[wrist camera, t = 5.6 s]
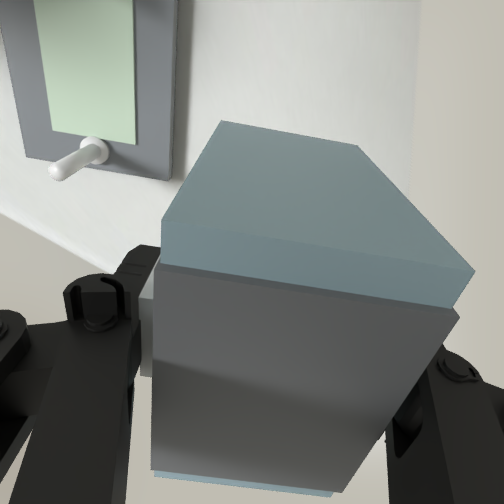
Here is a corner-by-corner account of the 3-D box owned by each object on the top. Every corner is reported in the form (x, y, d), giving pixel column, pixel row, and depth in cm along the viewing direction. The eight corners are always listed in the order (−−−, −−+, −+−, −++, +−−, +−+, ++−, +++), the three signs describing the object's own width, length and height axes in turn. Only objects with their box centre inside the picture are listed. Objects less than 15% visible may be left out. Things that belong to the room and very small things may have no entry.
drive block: (200, 293, 16) (150, 484, 9) (219, 120, 12) (154, 225, 5) (304, 309, 16) (333, 506, 9) (358, 145, 12) (485, 279, 5)
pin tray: (34, 153, 29) (-28, 181, 23) (-8, -80, 21) (-120, -132, 15) (171, 176, 30) (146, 210, 24) (179, -42, 22) (145, -77, 16)
